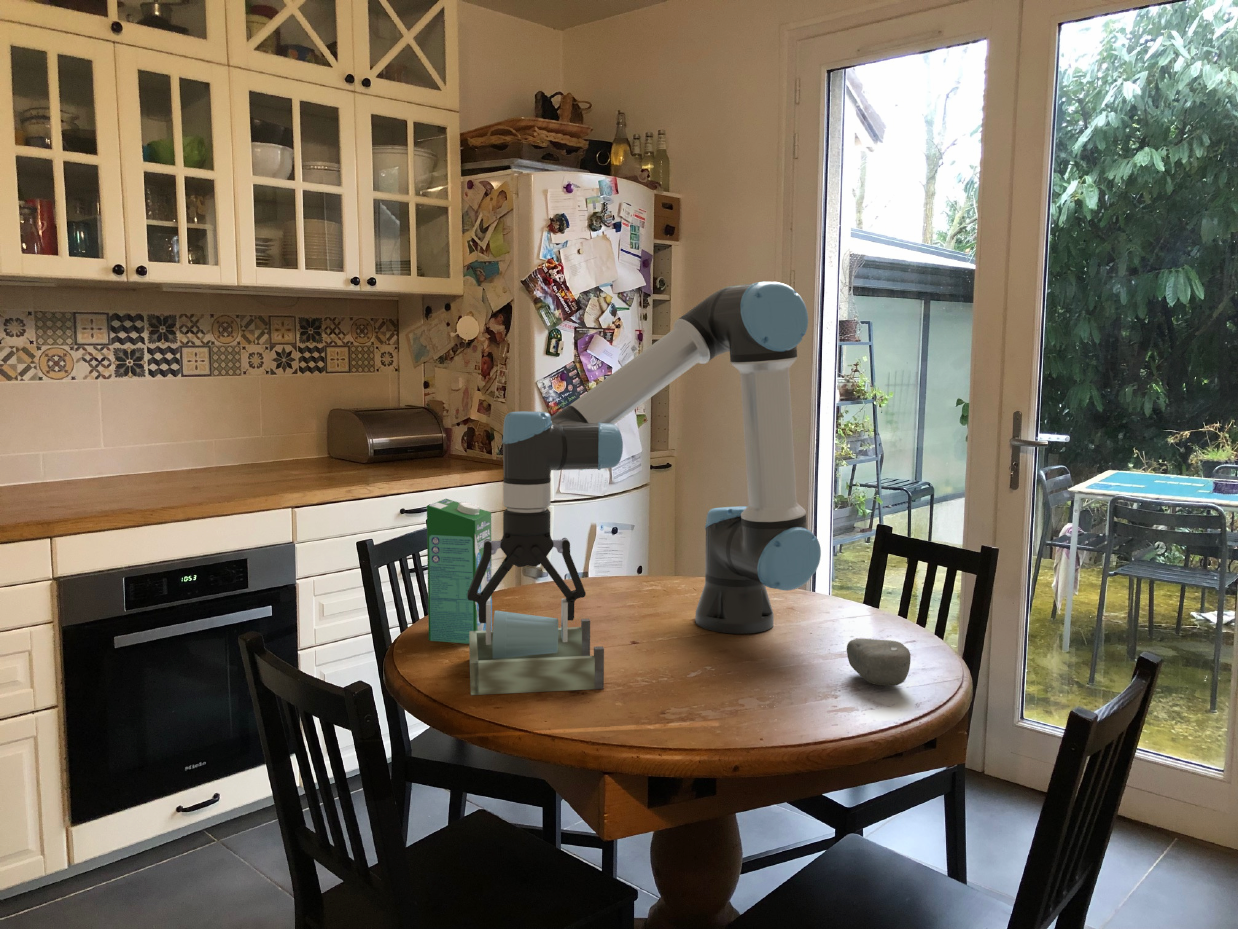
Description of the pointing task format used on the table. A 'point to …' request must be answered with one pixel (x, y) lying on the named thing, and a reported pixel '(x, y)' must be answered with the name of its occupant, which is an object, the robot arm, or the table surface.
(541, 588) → the table surface
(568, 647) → the bay
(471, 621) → the milk carton
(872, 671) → the stone
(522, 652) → the cup
